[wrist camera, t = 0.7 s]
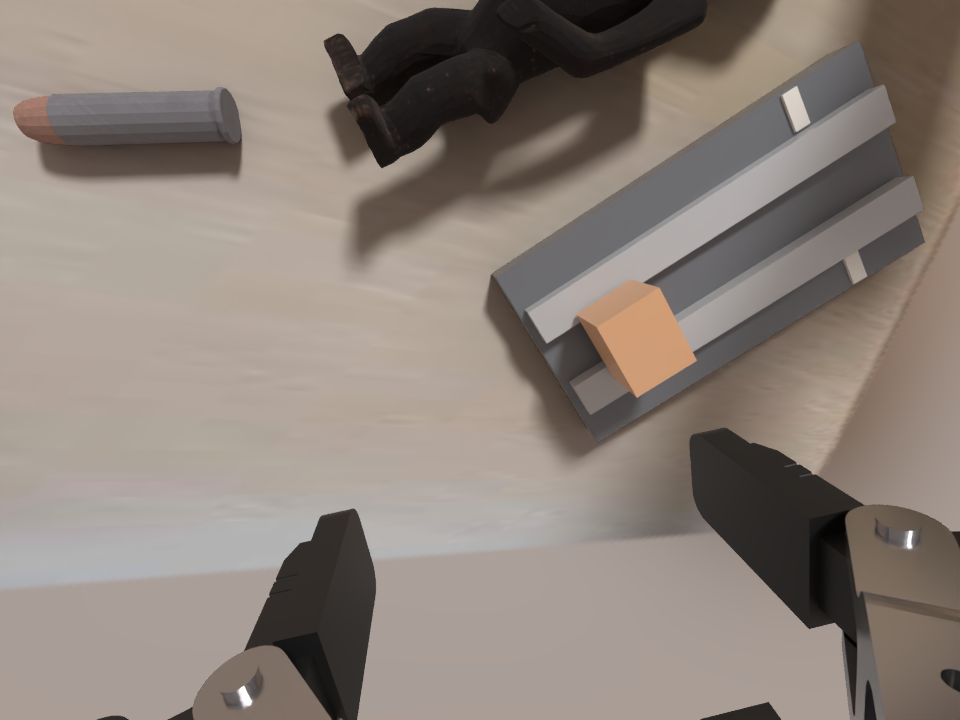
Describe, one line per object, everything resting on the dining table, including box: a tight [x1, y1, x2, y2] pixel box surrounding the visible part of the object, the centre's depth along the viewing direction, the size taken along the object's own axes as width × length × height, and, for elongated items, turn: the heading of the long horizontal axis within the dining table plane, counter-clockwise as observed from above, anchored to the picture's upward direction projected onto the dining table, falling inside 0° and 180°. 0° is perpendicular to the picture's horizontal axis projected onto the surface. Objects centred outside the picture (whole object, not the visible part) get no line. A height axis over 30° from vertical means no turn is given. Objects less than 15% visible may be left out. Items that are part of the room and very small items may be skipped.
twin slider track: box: [492, 41, 925, 442], centre depth 32 cm, size 26×14×4 cm, turn 122°
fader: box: [576, 280, 697, 397], centre depth 29 cm, size 4×5×5 cm
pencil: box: [13, 87, 241, 146], centre depth 28 cm, size 11×3×3 cm, turn 92°
